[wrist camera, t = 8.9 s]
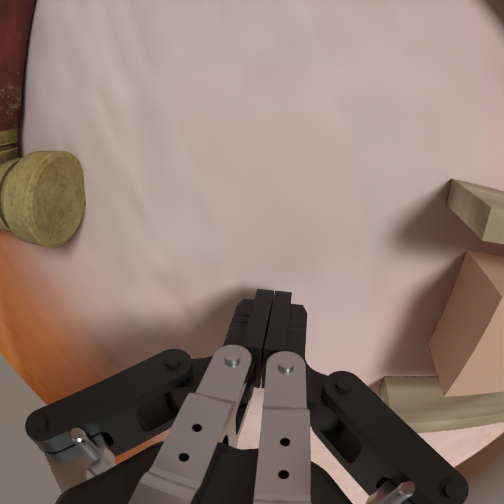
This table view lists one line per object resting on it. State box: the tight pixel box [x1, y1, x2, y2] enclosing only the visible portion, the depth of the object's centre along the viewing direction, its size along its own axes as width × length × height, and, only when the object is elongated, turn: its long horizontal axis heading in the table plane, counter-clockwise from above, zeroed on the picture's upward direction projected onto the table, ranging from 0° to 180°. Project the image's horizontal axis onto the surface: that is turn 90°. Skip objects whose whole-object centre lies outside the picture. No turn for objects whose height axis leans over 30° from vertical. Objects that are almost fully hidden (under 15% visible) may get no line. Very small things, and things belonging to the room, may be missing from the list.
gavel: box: [0, 0, 86, 248], centre depth 10 cm, size 21×5×10 cm
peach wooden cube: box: [428, 250, 504, 397], centre depth 12 cm, size 6×6×4 cm
